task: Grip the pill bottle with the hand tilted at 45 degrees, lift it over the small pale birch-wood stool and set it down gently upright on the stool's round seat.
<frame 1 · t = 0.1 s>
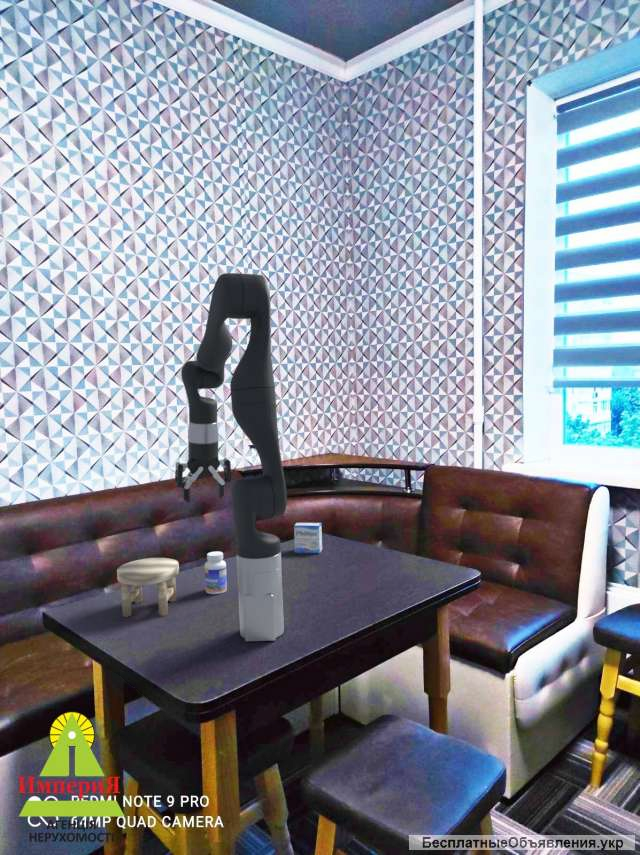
hand: (203, 499, 157), 22 cm above the table, tool pointing down, fingers open, 8 cm apart
pill bottle: (216, 591, 153), on the table
medicine box: (308, 552, 185), on the table
stool: (150, 607, 143), on the table
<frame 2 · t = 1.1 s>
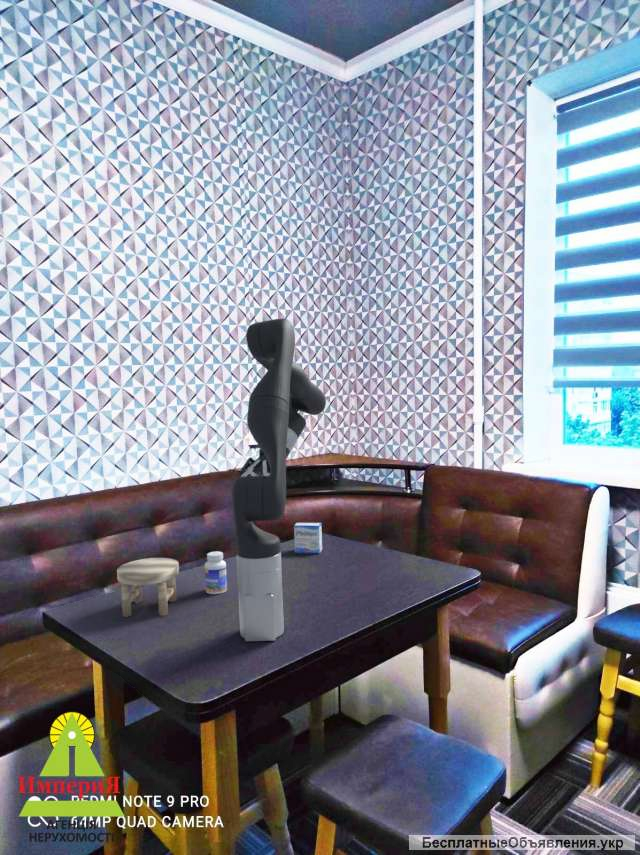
hand: (248, 492, 160), 23 cm above the table, tool tilted 45°, fingers open, 8 cm apart
nothing on the table moved.
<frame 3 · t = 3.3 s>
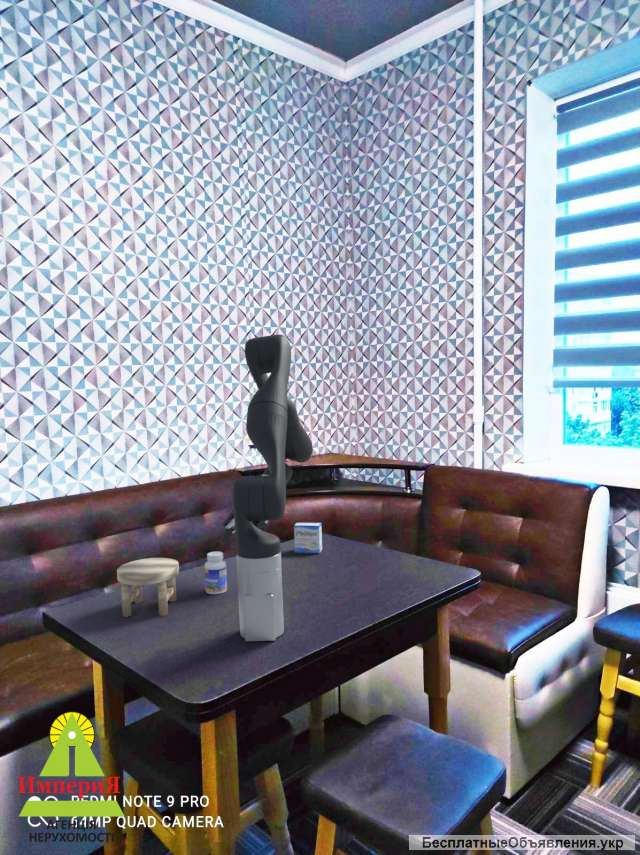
hand: (231, 546, 156), 10 cm above the table, tool tilted 45°, fingers open, 8 cm apart
nothing on the table moved.
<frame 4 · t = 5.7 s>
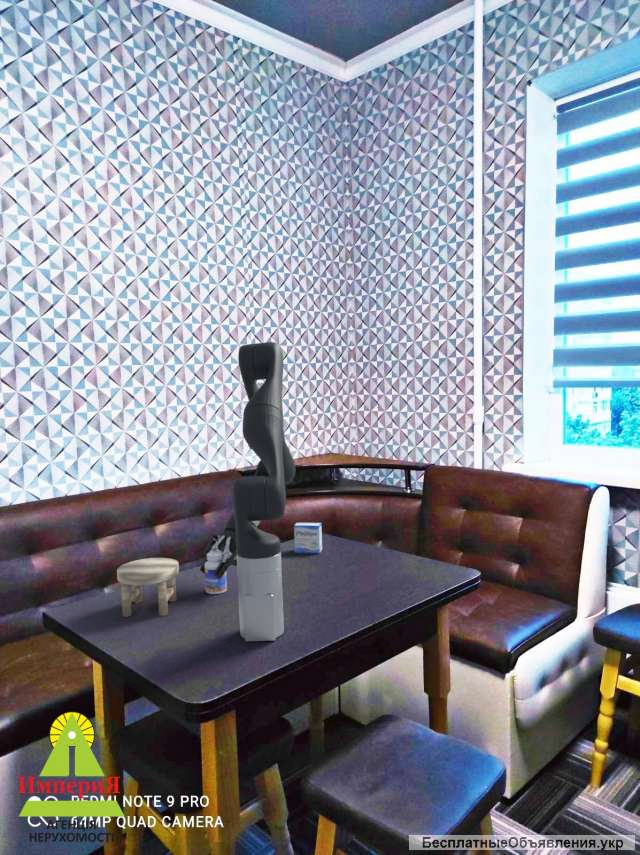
hand: (209, 574, 152), 5 cm above the table, tool tilted 45°, fingers closed on pill bottle, 5 cm apart
pill bottle: (216, 591, 153), on the table, touching gripper
everything else where it was.
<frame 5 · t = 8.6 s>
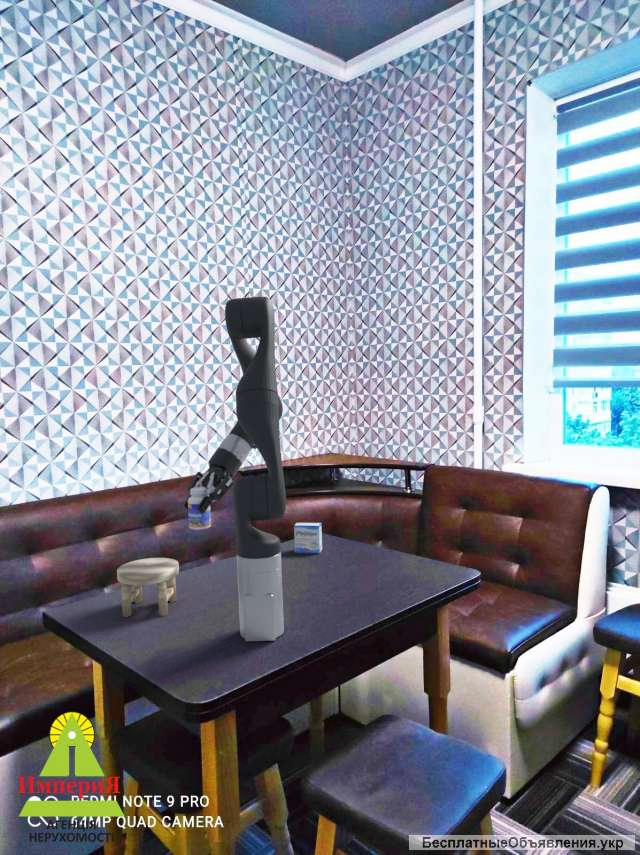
hand: (192, 509, 148), 22 cm above the table, tool tilted 45°, fingers closed on pill bottle, 5 cm apart
pill bottle: (200, 528, 150), point 17 cm above the table, touching gripper
everything else where it was.
when the fingers open (16 cm above the table, at t = 11.9 s): pill bottle stays where it is, resting on stool.
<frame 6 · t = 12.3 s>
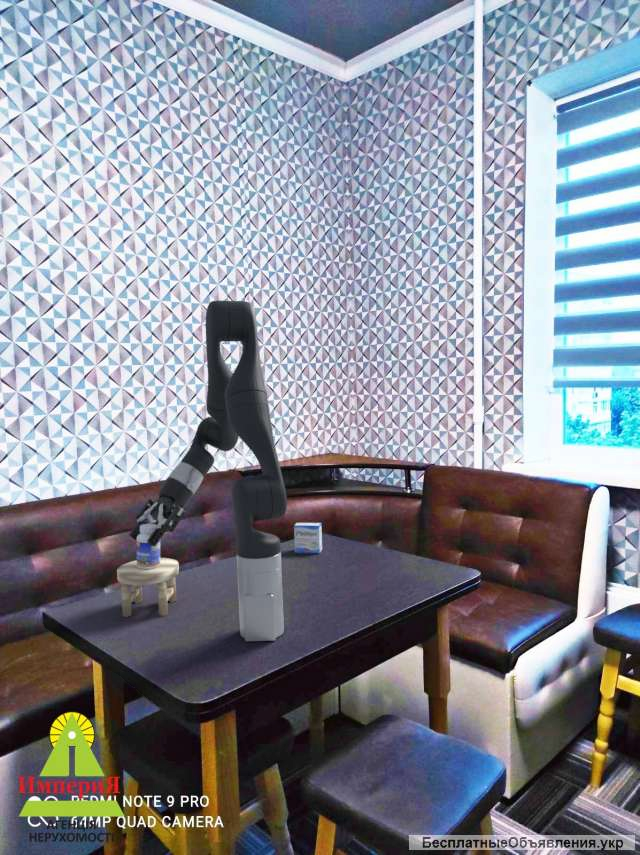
hand: (141, 541, 141), 16 cm above the table, tool tilted 45°, fingers open, 8 cm apart
pill bottle: (148, 566, 143), point 10 cm above the table, touching stool
everything else where it was.
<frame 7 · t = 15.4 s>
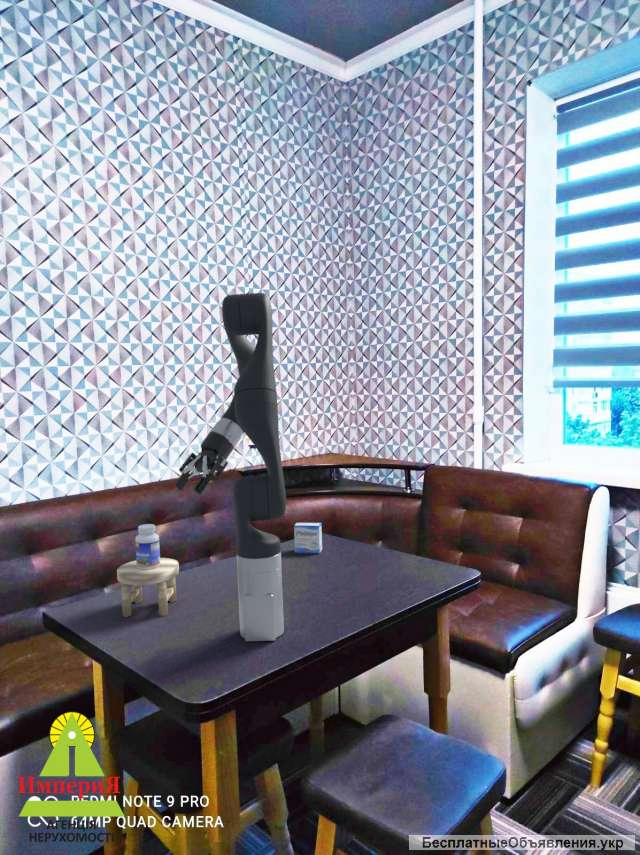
hand: (186, 490, 149), 26 cm above the table, tool tilted 45°, fingers open, 8 cm apart
nothing on the table moved.
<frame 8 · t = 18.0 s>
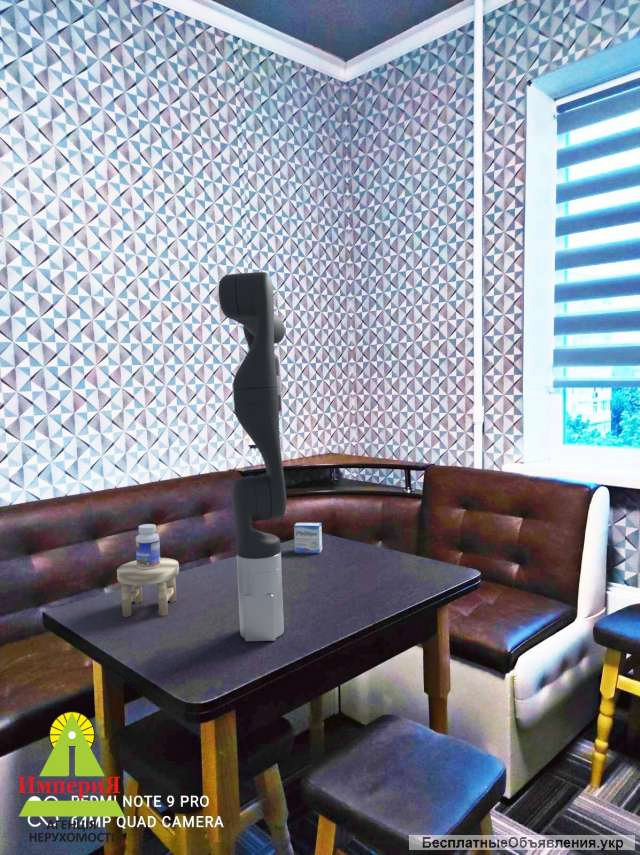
hand: (269, 455, 159), 33 cm above the table, tool pointing down, fingers open, 8 cm apart
nothing on the table moved.
at the end: pill bottle inside the target area on the stool (0.2 cm from its centre), point 9.8 cm above the stool's base; pill bottle tilted 1°; the gripper is holding nothing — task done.
